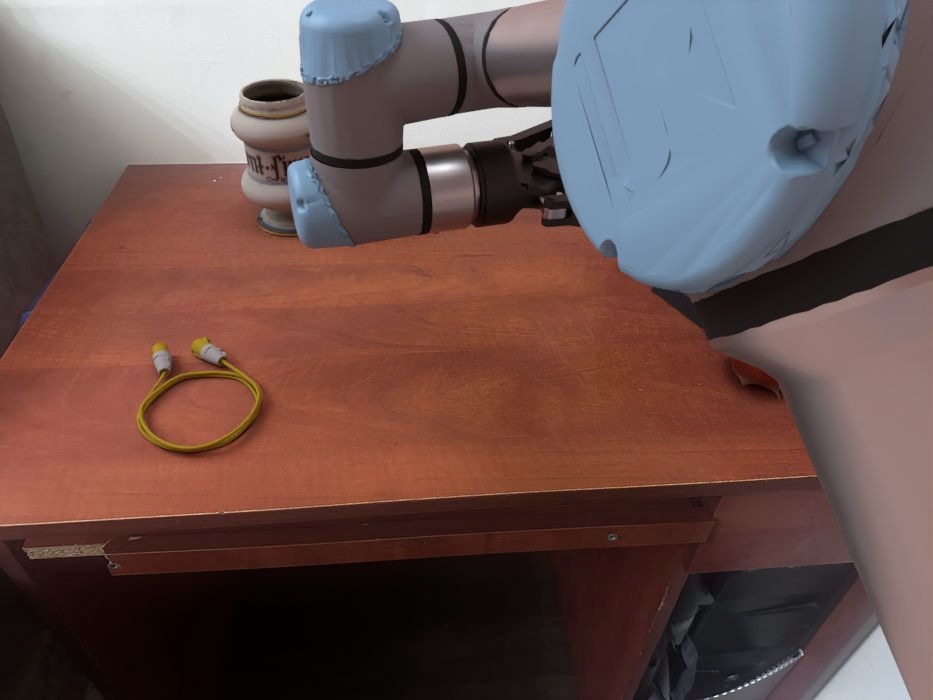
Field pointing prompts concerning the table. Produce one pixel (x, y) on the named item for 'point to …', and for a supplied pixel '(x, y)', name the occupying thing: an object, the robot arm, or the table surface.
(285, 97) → the apothecary jar
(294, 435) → the table surface
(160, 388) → the extension cord
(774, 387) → the fruit
